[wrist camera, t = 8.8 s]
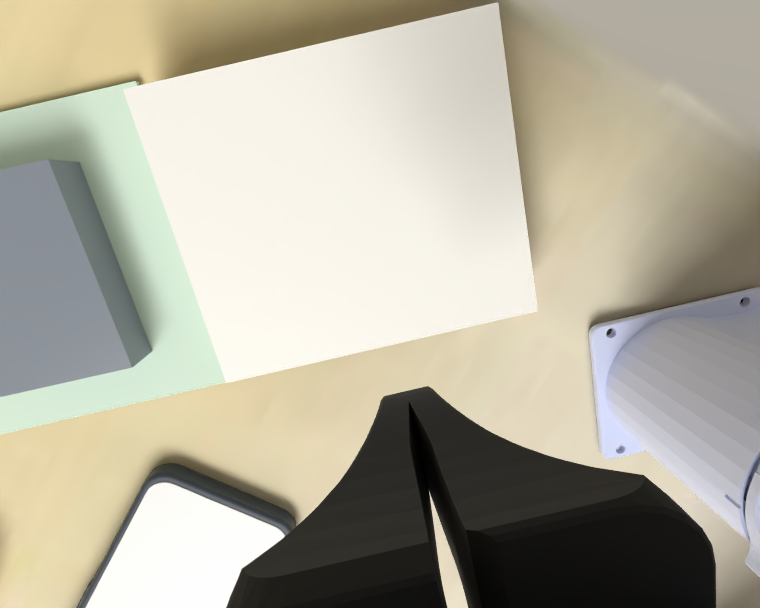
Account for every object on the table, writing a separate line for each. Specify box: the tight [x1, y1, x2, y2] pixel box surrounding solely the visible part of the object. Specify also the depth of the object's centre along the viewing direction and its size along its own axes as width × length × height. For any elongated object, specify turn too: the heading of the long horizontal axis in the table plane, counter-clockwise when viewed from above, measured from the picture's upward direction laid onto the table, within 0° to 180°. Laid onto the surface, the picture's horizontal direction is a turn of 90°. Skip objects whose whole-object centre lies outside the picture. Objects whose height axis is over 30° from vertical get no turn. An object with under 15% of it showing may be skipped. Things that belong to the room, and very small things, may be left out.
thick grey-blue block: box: [0, 159, 152, 397], centre depth 19 cm, size 6×9×2 cm, turn 12°
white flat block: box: [123, 2, 538, 383], centre depth 19 cm, size 14×12×3 cm
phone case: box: [77, 464, 296, 608], centre depth 25 cm, size 9×2×16 cm
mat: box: [0, 81, 226, 435], centre depth 20 cm, size 16×14×1 cm
